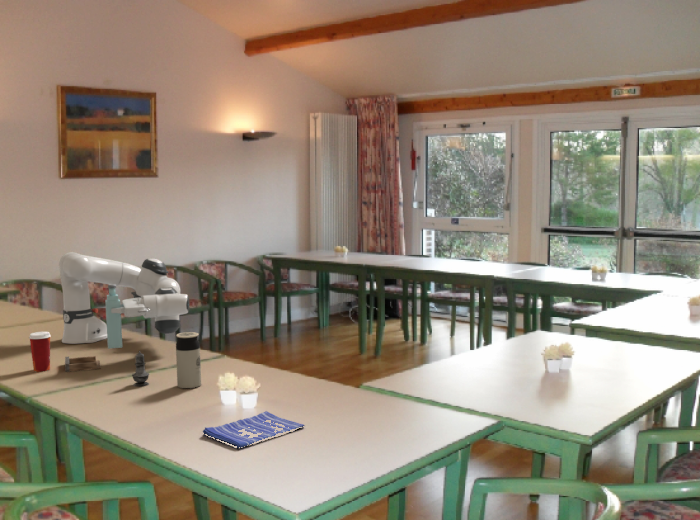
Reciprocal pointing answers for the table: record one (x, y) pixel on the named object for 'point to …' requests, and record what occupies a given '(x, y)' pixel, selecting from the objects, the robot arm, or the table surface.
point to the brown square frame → (81, 363)
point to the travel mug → (188, 360)
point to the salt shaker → (140, 372)
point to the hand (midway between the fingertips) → (110, 309)
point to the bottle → (113, 319)
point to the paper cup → (40, 350)
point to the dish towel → (250, 429)
